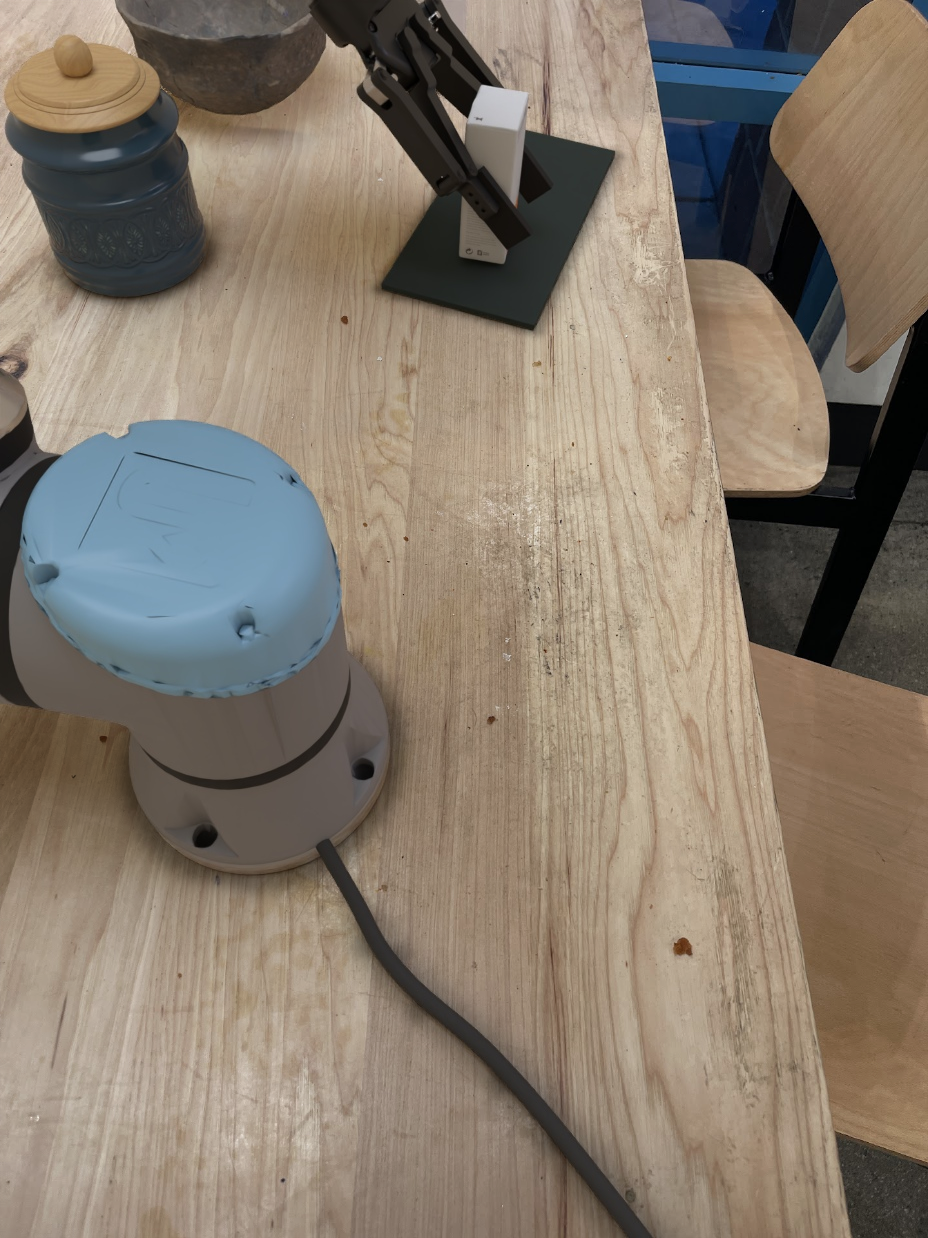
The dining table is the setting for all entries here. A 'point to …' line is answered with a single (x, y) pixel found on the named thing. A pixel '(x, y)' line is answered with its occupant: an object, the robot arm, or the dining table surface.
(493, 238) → the cosmetic box
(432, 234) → the mat
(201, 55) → the bowl
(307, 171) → the dining table surface
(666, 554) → the dining table surface
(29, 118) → the canister
